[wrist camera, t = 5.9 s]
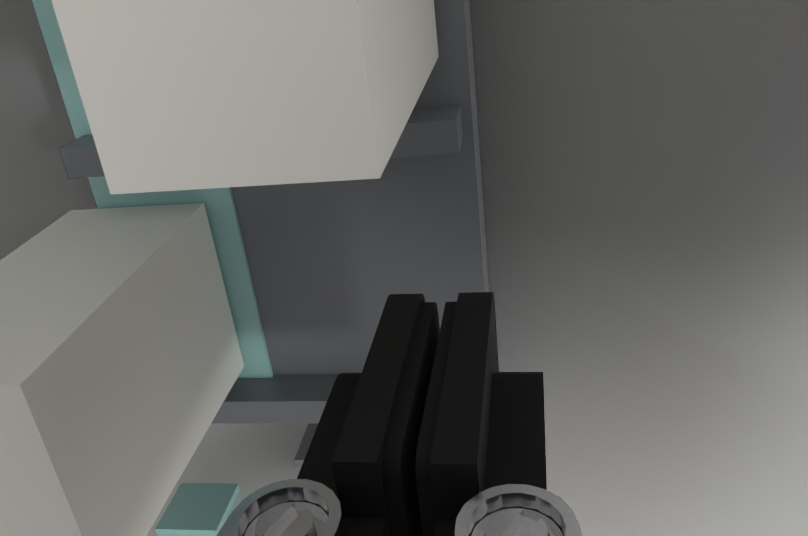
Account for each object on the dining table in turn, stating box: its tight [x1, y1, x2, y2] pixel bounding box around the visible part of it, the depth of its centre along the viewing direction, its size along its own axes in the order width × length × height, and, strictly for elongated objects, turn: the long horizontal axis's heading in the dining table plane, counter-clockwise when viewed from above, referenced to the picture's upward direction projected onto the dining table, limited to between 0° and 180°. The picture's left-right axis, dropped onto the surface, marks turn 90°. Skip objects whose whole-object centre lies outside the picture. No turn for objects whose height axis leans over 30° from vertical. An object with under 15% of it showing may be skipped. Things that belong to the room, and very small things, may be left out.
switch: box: [0, 203, 244, 536], centre depth 13 cm, size 3×4×6 cm
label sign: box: [146, 423, 318, 536], centre depth 17 cm, size 8×1×5 cm, turn 96°
